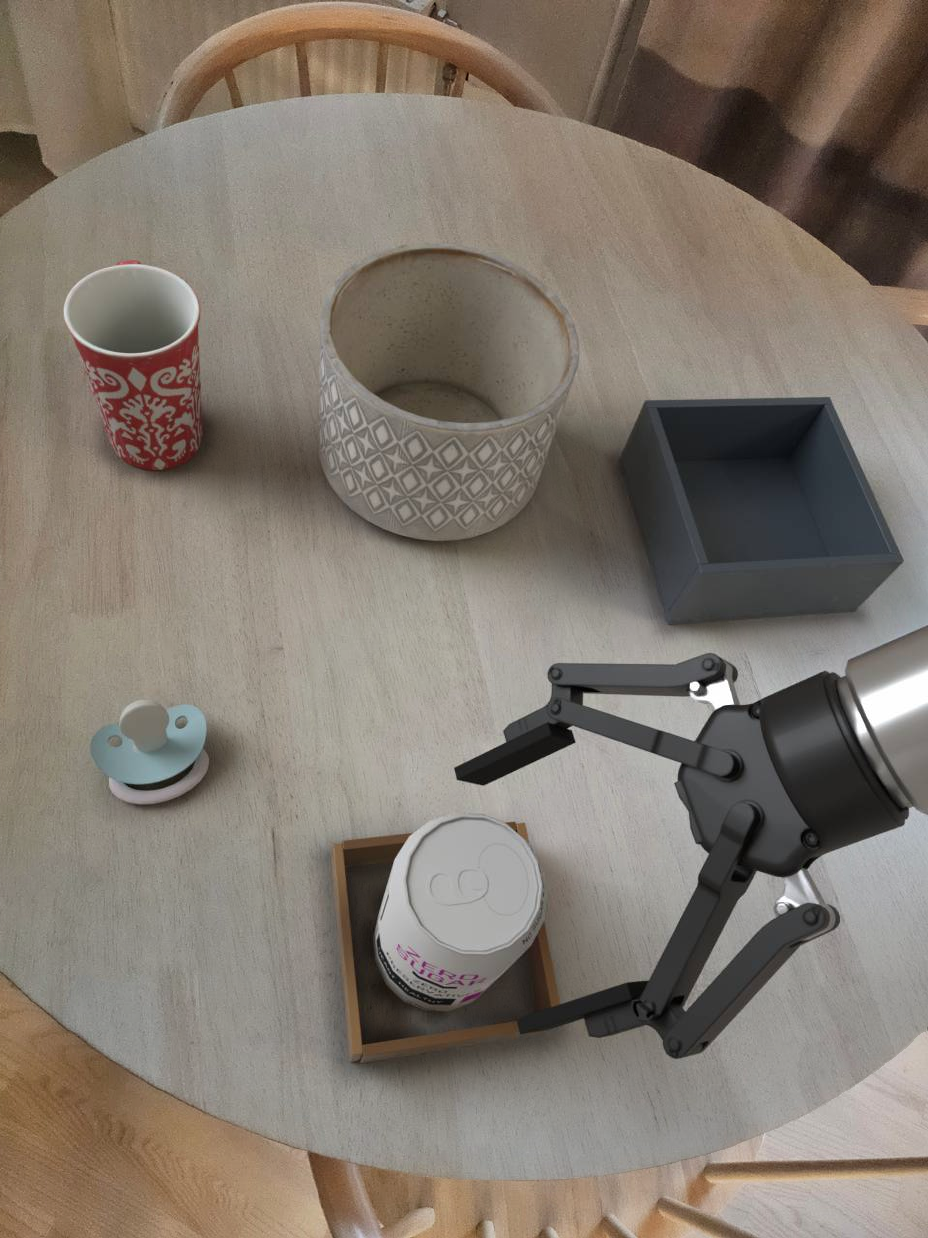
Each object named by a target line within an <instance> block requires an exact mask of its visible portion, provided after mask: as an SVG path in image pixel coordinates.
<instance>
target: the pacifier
mask: <svg viewBox="0 0 928 1238" xmlns="http://www.w3.org/2000/svg"><path fill="white" fill-rule="evenodd" d="M182 718H184V719H186V720H187V722H186V724H185V726H184V727H182V728H178V727H177V726H176V724H177V722H178V721H179V720H180V719H182ZM207 728H208V727H207V721H206V718H205V715H204V714H203V712H202V711H201V709H199V708H198V707H196V706H195V705H192V704H178V705H175V706H172V707H170V708H168V709H167V708H165V706H163V704H161V703H159V702H158V701H156V700H153V699H145V698H143V699H139V700H135V701H133V702H131V703H130V704H128V705H127V706H126V707H125V708H124V709H123V710H122V713H121V714H120V717H119V721H118V722H113V723H109V724H107V725H105V726H103V727H101V728H99V729H98V730H97V731H96V732H95V733H94V735H93V736H92V738H91V740H90V745H89V749H90V755H91V757H92V759H93V761H94V763H95V765H96V766H97V767H98V768H99V769H100V770H101V771H102V772H103V773H104V775H106V776H107V777H108V787H109V789H110V791H111V793H112V795H114V796H115V798H117V799H119V800H120V801H123V802H126V803H129V804H134V805H155V804H159V803H163V802H164V803H165V802H169V801H171V800H173V799H175V798H178V797H180V796H182V795H184V794H185V793H186V794H187V792H189V791H191V790H193V788H194V787H195V786H197V785H198V784H199V783H200V782H201V781H202V779H203V778H204V777H205V775H206V774H207V771H208V769H209V766H210V759H209V755H208V753H207V751H206V750H205V748H204V746H205V744H206V739H207V733H208V729H207ZM112 738H120V739H121V741H122V742H121V744H120V745H119V746H112V745H111V744H110V743H109V741H110V740H111V739H112ZM191 765H193V766H192V769H191V770H190V771H189V772H188V773H187V774H186V775H185V776H184V777H183V778H181V779H180V780H179V781H177V782H175V783H173V784H171V785H168V786H166V787H163V788H158V789H154V790H153V789H152V790H141V789H135V788H132V787H129V786H128V785H127V784H129V785H150V784H156V783H159V782H163V781H166V780H168V779H171V778H173V777H175V776H177V775H179V774H181V773H183V772H184V771H185V770H186V769H188V768H189V767H190V766H191Z"/></svg>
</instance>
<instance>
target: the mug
mask: <svg viewBox="0 0 928 1238" xmlns="http://www.w3.org/2000/svg"><path fill="white" fill-rule="evenodd" d="M201 311H202V309H201V303H200V300H199V297H198V296H197V293H196V292H195V290H194V289H193V288H192V286H191V285H190V284H189V283H188V282H187V281H185V280H184V279H183V278H182V277H180V276H179V275H178V274H175V273H174V272H172V271H169V270H167V269H164V268H162V267H158V266H153V265H148V264H142V263H141V262H140V261H139V260H135V259H134V260H133V259H131V260H121V261H118V262H117V263H116V264H115V265H111V266H109V267H105V268H101V269H98V270H96V271H93V272H91V273H89V274H87V275H86V276H84V277H82V278H81V279H80V280H79V281H78V282H77V283H76V284H75V285H73V286H72V287H71V289H70V290H69V292H68V294H67V295H66V297H65V300H64V303H63V308H62V315H63V320H64V323H65V326H66V329H67V330H68V332H69V334H70V335H71V336H72V338H73V341H74V344H75V348H76V350H77V353H78V356H79V358H80V361H81V363H82V367H83V371H84V372H85V374H86V377H87V380H88V384H89V386H90V389H91V392H92V395H93V397H94V400H95V403H96V406H97V409H98V412H99V415H100V418H101V420H102V423H103V426H104V429H105V432H106V435H107V438H108V440H109V444H110V445H111V448H112V449H113V451H114V452H115V454H116V455H117V456H118V457H119V458H120V459H121V460H122V461H123V462H125V463H126V464H129V465H131V466H133V467H136V468H137V469H138V468H139V469H143V470H146V471H147V470H148V471H164V470H168V469H169V470H170V469H172V468H176V467H178V466H181V465H183V464H184V463H186V462H188V461H189V460H190V459H192V458H193V457H194V456H195V454H196V453H197V452H198V450H199V449H200V447H201V445H202V442H203V435H204V433H203V432H204V431H203V430H204V429H203V415H202V390H201V388H202V385H201V384H202V383H201V382H202V381H201V366H200V365H201V363H200V338H199V337H200V334H199V323H200V319H201Z"/></svg>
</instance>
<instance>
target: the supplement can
mask: <svg viewBox="0 0 928 1238" xmlns="http://www.w3.org/2000/svg"><path fill="white" fill-rule="evenodd" d="M412 833H413V834H412V835H410V836H409V838H408V839H407V841H406V842H405V844H404V845H403V847H402V849H401V850H400V852H399V853H398V855H397V856H396V858H395V860H394V861H393V862H392V863H393V864H392V866H391V871H390V874H389V877H388V881H387V884H386V888H385V892H384V894H383V898H382V901H381V903H380V907H379V910H378V914H377V918H376V923H375V928H374V932H373V936H372V945H373V953H374V959H375V960H374V962H375V965H376V967H377V969H378V972H379V973H380V975H381V977H382V979H383V981H384V983H385V985H386V986H387V988H389V989H390V991H392V992H393V993H394V994H395V995H396V996H397V997H398V998H399V999H401V1000H402V1002H404V1003H406V1004H409V1005H411V1006H413V1007H416V1008H419V1009H420V1010H423V1011H426V1012H451V1011H454V1010H456V1009H457V1010H458V1009H459V1008H462V1007H465V1006H467V1005H470V1004H472V1003H474V1001H475V1000H477V998H479V997H480V996H481V995H482V994H483V993H485V992H486V991H487V990H488V989H489V988H490V987H491V986H492V985H493V984H494V983H495V982H496V981H497V980H498V979H500V978H501V976H502V975H503V974H504V973H505V972H506V971H507V970H508V969H510V967H511V966H512V965H514V963H515V962H516V961H517V960H518V959H519V958H520V957H521V956H522V955H523V954H524V953H525V951H526V950H527V949H528V948H529V947H530V946H531V945H532V943H533V941H534V939H535V937H536V935H537V933H538V932H539V930H540V928H541V926H542V924H543V922H545V917H546V909H547V902H548V894H549V892H548V887H547V883H546V878H545V873H544V867H543V865H542V863H541V861H540V859H539V858H538V857H537V855H536V853H535V851H534V849H533V848H532V846H531V845H530V842H529V843H528V842H527V841H526V840H525V839H524V838H523V837H522V836H521V835H519V834H518V833H517V832H516V831H515V830H514V829H512V828H511V827H510V826H509V825H508V824H506V822H503V821H501V820H498V819H497V818H493V817H491V816H488V815H486V814H484V813H475V812H473V813H472V812H453V813H449V814H447V815H443V816H440V817H437V818H433V819H430V820H428V821H427V822H426V823H424V825H423V826H421V827H419V828H418V829H417V830H416V831H414V832H412Z"/></svg>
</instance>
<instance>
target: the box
mask: <svg viewBox="0 0 928 1238" xmlns="http://www.w3.org/2000/svg"><path fill="white" fill-rule="evenodd" d="M505 823H506V824H508V825H509V826H510V827H511V828H512V829H514V830H515V831H516V832H517V833H518V834H519V835H521V836H522V837H523V838H524V839H525V840H526V841H527V842H528V843H529V844H530V840H529V835H528V831H527V826H526V825H527V824H526V822H518V823H517V822H516V821H507V822H505ZM413 833H414V832H409V833H401V834H392V835H391V834H390V835H382V836H381V835H380V836H373V837H365V838H355V839H345V840H342V842H341V843H340V842H339V843H333V844H332V850H331V860H330V861H331V862H330V865H331V874H332V876H331V877H332V884H333V885H332V886H333V897H334V908H335V909H334V910H335V919H336V930H337V931H336V932H337V941H338V954H339V963H340V974H341V975H340V976H341V983H342V984H341V987H342V996H343V998H342V999H343V1007H344V1020H345V1029H346V1041H347V1051H348V1062H349V1063H354V1062H359V1064H365V1063H370V1062H371V1063H372V1062H377V1061H384V1060H390V1059H397V1058H402V1057H408V1056H409V1057H410V1056H415V1055H421V1054H428V1053H434V1052H441V1051H445V1050H453V1049H459V1048H464V1047H472V1046H478V1045H483V1044H490V1043H496V1042H503V1041H509V1040H514V1039H515V1040H516V1039H522V1038H528V1037H533V1036H539V1035H541V1034H543V1033H545V1032H548V1031H549V1030H545V1031H539V1032H532V1033H526V1034H520V1032H519V1028H518V1024H517V1020H514V1021H513V1020H512V1021H507V1022H500V1023H493V1024H487V1025H481V1026H475V1027H469V1028H462V1029H456V1030H455V1029H454V1030H449V1031H443V1032H436V1033H430V1034H429V1033H428V1034H424V1035H418V1036H412V1037H404V1038H398V1039H392V1040H385V1041H379V1042H374V1043H373V1042H372V1043H366V1044H363V1038H362V1028H361V1018H360V1017H361V1016H360V1008H359V999H358V987H357V977H356V967H355V956H354V945H353V935H352V925H351V915H350V907H349V906H350V905H349V894H348V885H347V884H348V883H347V876H346V868H348V867H349V868H350V867H358V866H366V865H374V864H375V865H376V864H382V863H393V862H394V860H395V858H396V856H397V855H398V853H399V852H400V850H401V849H402V847H403V845H404V844H405V842H406V841H407V839H408V838H409V836H410V835H412V834H413ZM524 953H525V958H526V959H525V960H526V963H527V964H526V965H527V971H528V976H529V981H530V987H531V993H532V997H533V1004H534V1009H535V1012H538V1011H541V1010H544V1009H547V1008H550V1007H553V1006H556V1005H560V1004H561V1001H560V995H559V991H558V985H557V980H556V975H555V974H556V973H555V970H554V963H553V959H552V954H551V949H550V943H549V937H548V933H547V928H546V923H545V921H544V922H543V924H542V926H541V928H540V930H539V932H538V933H537V935H536V937H535V939H534V941H533V943H532V945H531V946H530V947H529V948H528V949H527V950H526V951H525V952H524Z"/></svg>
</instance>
